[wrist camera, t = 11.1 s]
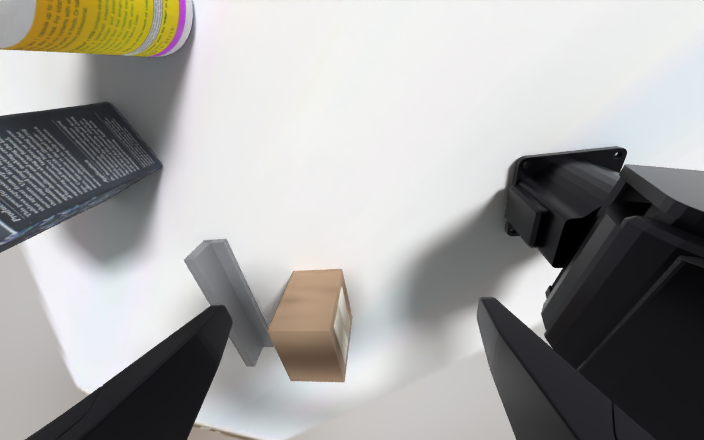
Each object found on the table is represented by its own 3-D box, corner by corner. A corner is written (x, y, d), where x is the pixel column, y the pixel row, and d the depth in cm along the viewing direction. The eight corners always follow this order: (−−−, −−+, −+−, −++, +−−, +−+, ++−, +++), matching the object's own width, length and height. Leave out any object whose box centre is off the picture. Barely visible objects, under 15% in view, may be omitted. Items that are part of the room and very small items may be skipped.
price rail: (202, 240, 25) (181, 260, 23) (226, 238, 25) (208, 258, 22) (255, 343, 33) (245, 366, 31) (274, 343, 33) (265, 366, 30)
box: (110, 199, 24) (-55, 280, 15) (53, 144, 22) (-184, 199, 13) (167, 166, 22) (11, 237, 13) (110, 98, 19) (-132, 127, 10)
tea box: (353, 316, 29) (345, 382, 23) (308, 317, 30) (289, 380, 24) (342, 268, 25) (330, 330, 19) (292, 270, 26) (266, 331, 20)
